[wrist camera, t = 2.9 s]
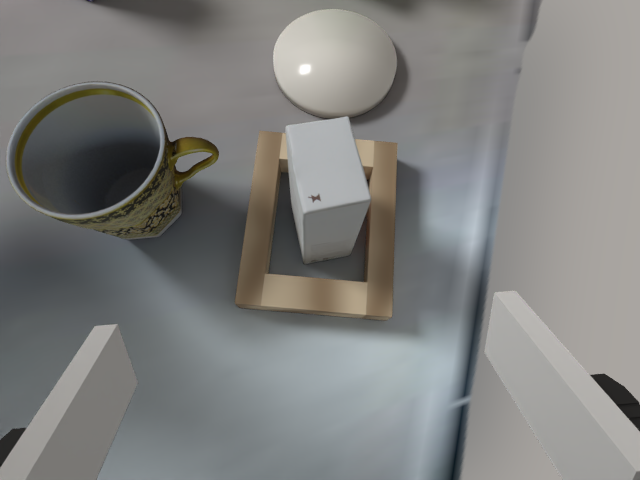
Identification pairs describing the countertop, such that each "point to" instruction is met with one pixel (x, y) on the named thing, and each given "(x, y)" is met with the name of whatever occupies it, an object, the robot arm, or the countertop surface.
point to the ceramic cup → (101, 161)
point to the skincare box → (326, 187)
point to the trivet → (334, 63)
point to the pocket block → (316, 292)
